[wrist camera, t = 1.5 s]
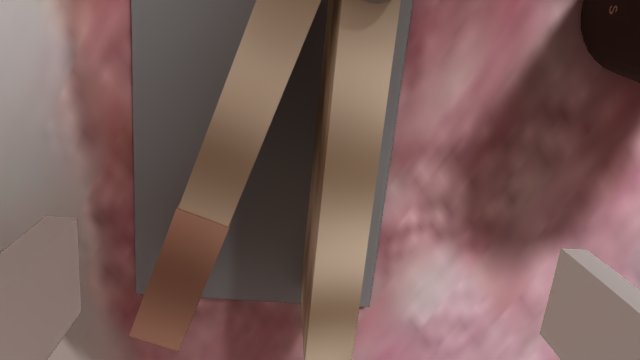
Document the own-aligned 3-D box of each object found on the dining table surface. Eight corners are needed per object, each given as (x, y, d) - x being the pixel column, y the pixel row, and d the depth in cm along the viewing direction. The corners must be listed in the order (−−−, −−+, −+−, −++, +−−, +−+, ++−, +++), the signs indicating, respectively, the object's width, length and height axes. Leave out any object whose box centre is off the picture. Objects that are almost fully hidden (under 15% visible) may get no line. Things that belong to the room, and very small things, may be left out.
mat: (133, -88, 23) (130, -90, 22) (418, -55, 24) (421, -57, 23) (138, 289, 29) (135, 294, 28) (368, 302, 30) (369, 306, 29)
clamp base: (334, -67, 23) (355, -105, 16) (378, -62, 23) (420, -97, 16) (300, 287, 29) (304, 386, 21) (336, 289, 29) (352, 388, 21)
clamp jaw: (280, -38, 23) (276, -58, 17) (322, -18, 24) (335, -30, 17) (166, 259, 27) (128, 335, 21) (204, 272, 28) (178, 351, 21)
